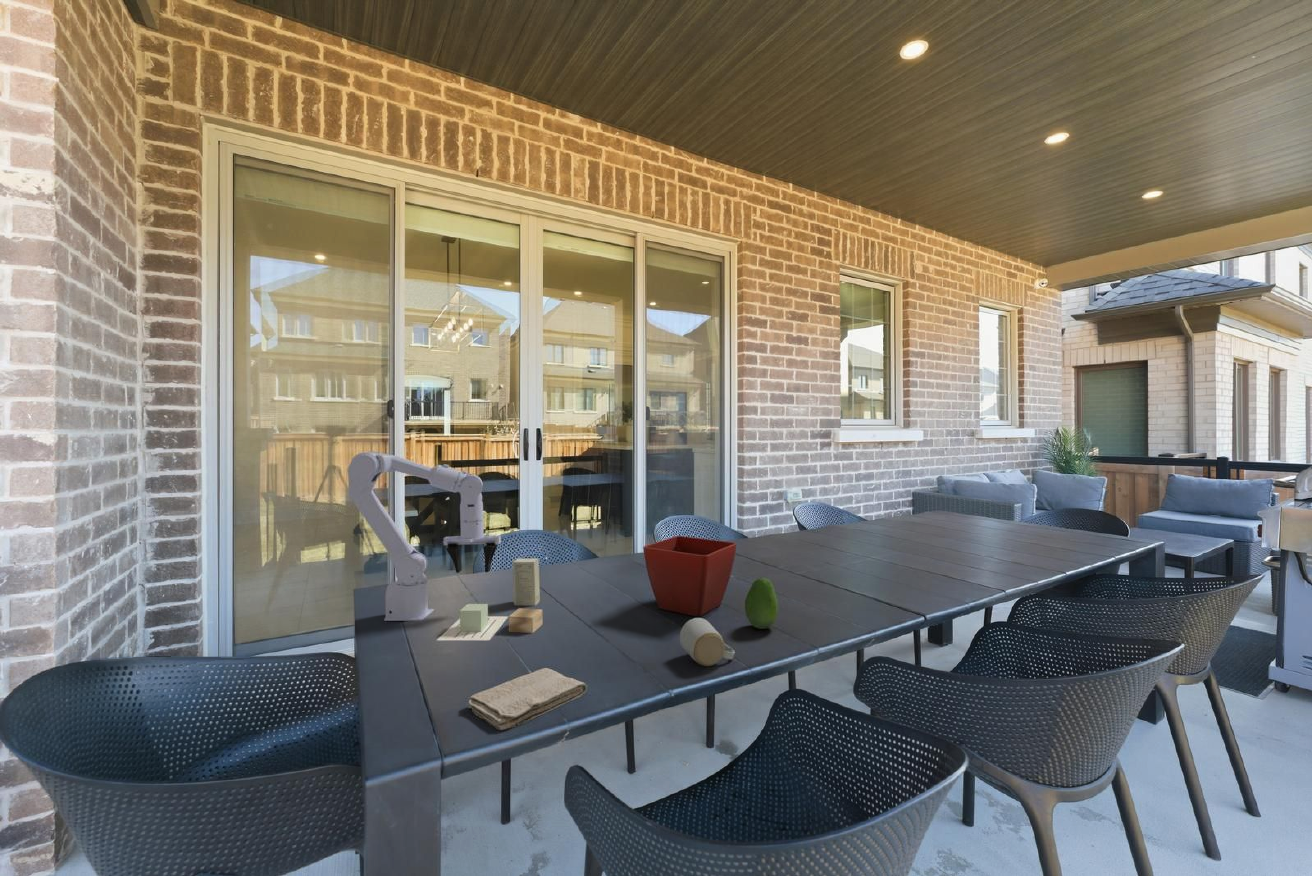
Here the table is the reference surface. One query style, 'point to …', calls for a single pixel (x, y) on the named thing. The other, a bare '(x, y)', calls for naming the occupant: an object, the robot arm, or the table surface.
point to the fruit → (761, 604)
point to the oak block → (525, 620)
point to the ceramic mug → (704, 642)
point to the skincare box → (526, 581)
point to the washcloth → (525, 698)
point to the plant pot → (689, 573)
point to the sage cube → (473, 617)
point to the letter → (485, 634)
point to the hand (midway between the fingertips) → (473, 571)
